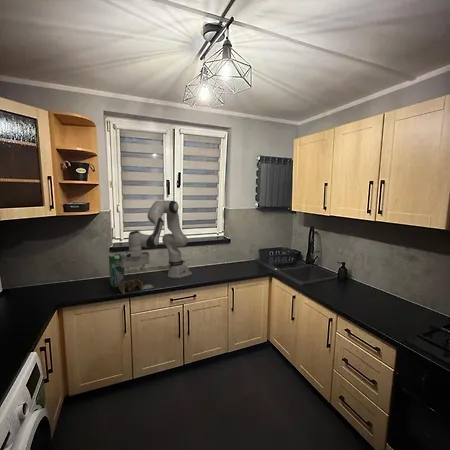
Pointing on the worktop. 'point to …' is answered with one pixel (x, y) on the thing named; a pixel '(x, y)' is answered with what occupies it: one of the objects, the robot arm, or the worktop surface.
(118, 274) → the milk carton
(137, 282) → the croissant
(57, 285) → the worktop surface
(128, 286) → the walnut block
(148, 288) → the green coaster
